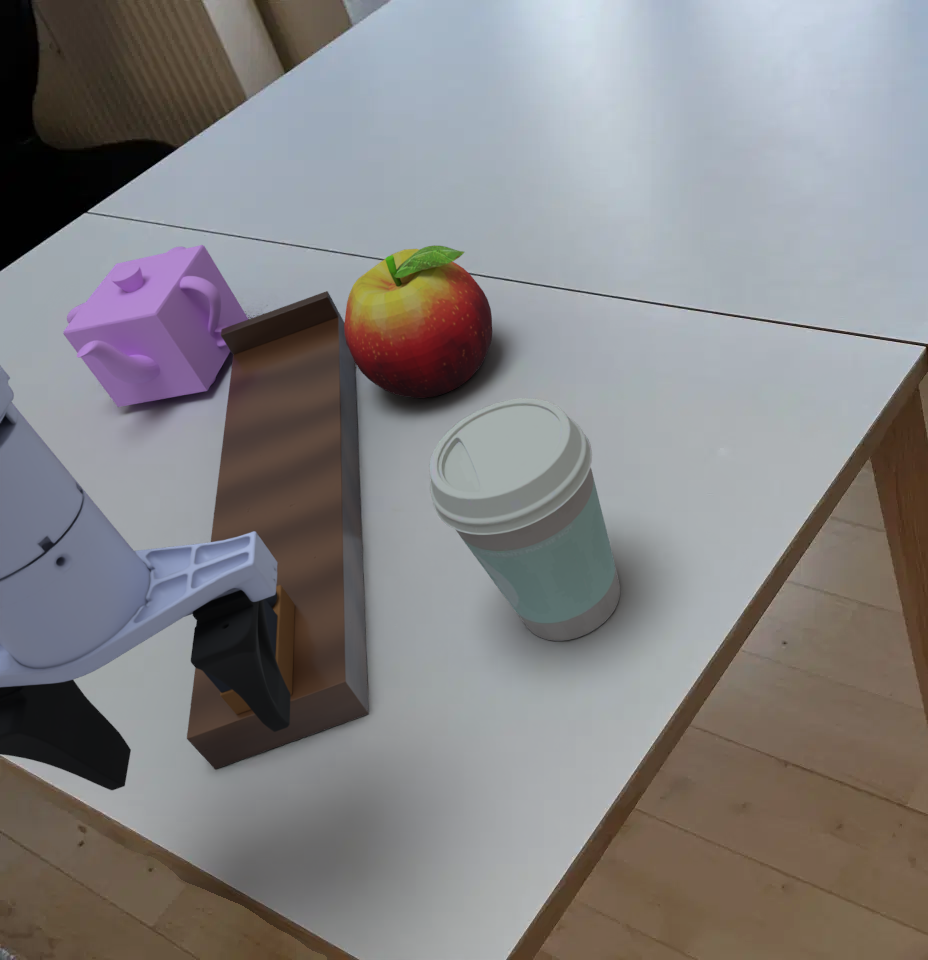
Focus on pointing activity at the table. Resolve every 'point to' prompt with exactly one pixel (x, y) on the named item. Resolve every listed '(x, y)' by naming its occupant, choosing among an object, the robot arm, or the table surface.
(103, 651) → the robot arm
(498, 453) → the coffee cup
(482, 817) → the table surface
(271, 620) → the cube on wooden base
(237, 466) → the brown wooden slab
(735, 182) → the table surface
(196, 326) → the teapot
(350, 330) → the fruit
